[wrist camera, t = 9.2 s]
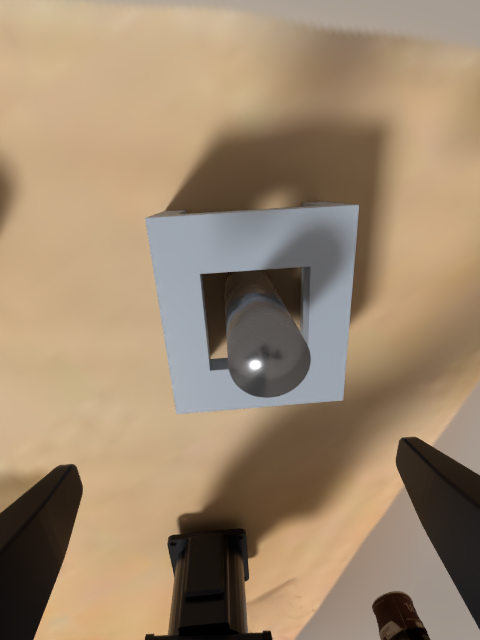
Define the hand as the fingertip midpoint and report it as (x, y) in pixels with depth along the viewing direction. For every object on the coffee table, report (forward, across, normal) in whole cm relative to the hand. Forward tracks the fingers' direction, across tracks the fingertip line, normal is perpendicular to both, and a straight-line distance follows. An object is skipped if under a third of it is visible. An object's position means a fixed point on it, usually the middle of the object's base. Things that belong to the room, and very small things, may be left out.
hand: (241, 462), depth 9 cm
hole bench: (+12, -1, -1) cm, 12 cm away
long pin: (+12, -1, -1) cm, 12 cm away
